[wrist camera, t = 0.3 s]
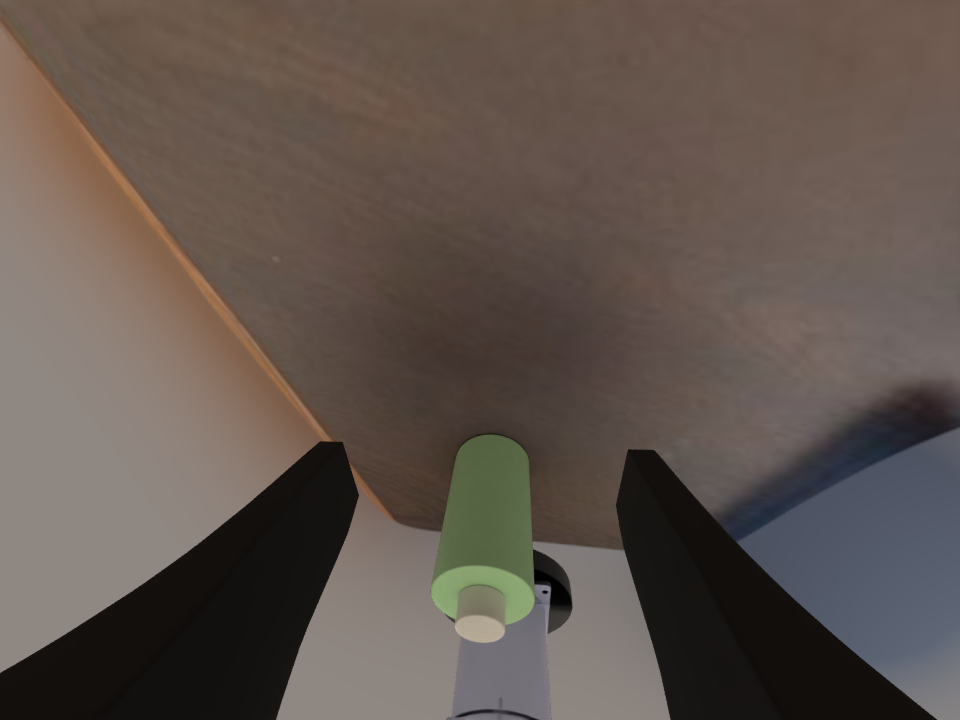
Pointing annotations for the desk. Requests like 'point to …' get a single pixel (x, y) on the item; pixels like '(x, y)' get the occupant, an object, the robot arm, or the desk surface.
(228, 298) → the desk surface
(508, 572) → the soap bottle
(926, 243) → the desk surface
